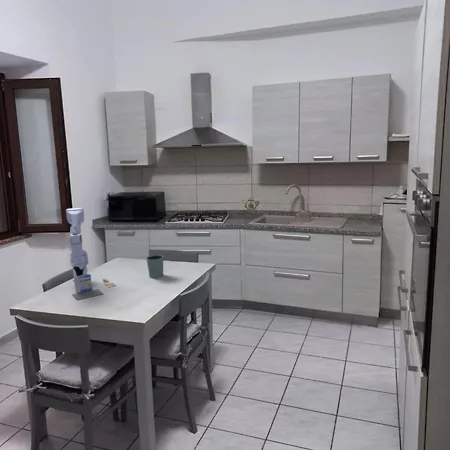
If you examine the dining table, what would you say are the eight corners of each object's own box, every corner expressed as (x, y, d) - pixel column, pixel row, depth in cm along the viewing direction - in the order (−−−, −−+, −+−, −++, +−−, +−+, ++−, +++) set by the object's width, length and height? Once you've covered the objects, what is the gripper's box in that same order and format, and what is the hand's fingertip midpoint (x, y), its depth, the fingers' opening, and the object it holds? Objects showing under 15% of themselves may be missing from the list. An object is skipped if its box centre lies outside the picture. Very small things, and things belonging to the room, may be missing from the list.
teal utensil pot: (166, 273, 251) (165, 255, 249) (162, 278, 241) (160, 259, 239) (150, 273, 252) (149, 255, 250) (145, 278, 242) (144, 259, 240)
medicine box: (80, 293, 219) (78, 277, 218) (75, 292, 222) (73, 276, 221) (92, 289, 225) (90, 274, 224) (88, 288, 228) (86, 273, 227)
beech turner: (100, 281, 240) (100, 279, 240) (107, 279, 243) (107, 277, 243) (108, 287, 228) (108, 286, 228) (116, 286, 231) (116, 284, 230)
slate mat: (72, 295, 218) (72, 294, 218) (98, 289, 225) (98, 288, 225) (77, 300, 210) (77, 299, 210) (103, 294, 217) (103, 293, 217)
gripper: (67, 254, 230) (69, 277, 232) (73, 259, 218) (75, 283, 220) (79, 252, 234) (82, 274, 236) (86, 257, 222) (88, 280, 224)
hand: (79, 278), depth 228 cm, fingers closed
